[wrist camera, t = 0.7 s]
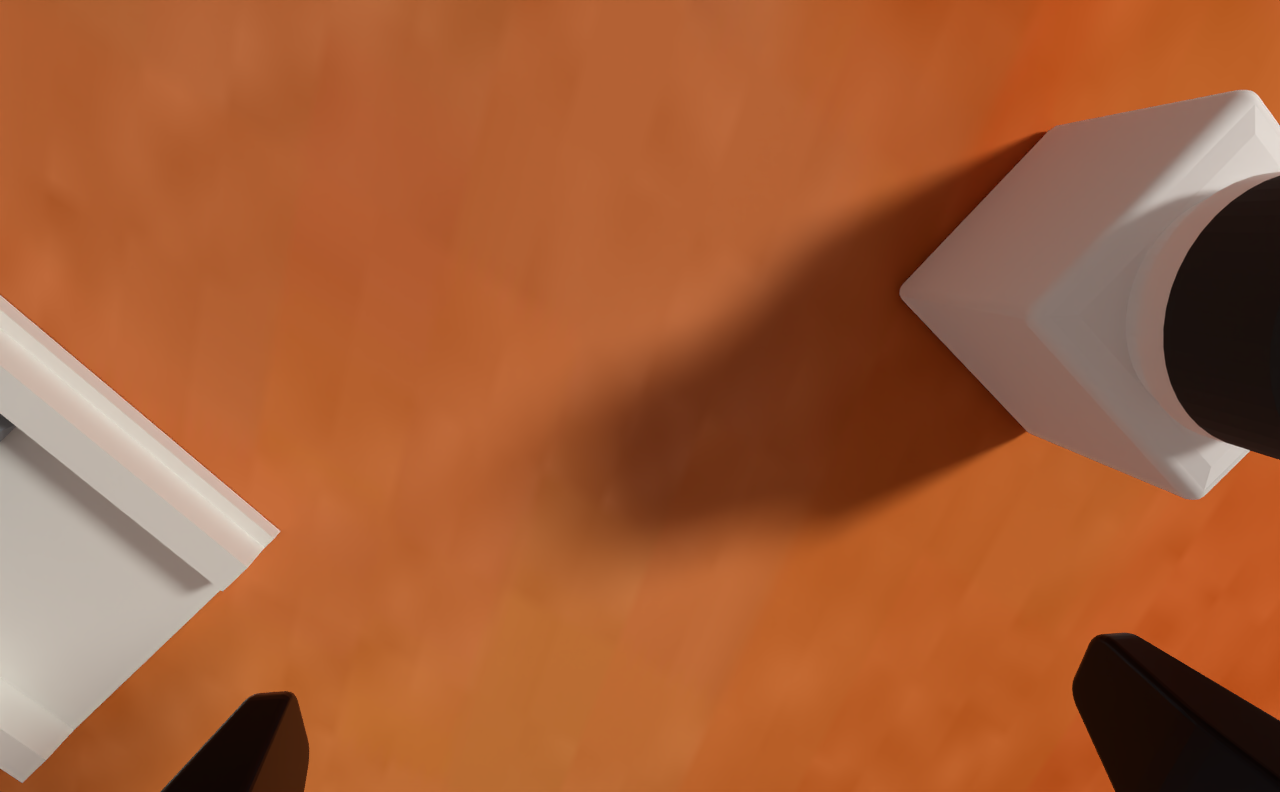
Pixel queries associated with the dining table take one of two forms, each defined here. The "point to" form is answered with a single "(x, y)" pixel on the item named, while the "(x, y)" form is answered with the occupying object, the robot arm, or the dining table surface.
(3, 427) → the gray block
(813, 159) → the dining table surface
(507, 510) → the dining table surface
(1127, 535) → the dining table surface
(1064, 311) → the medicine bottle
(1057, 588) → the dining table surface
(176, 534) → the off-white chute
